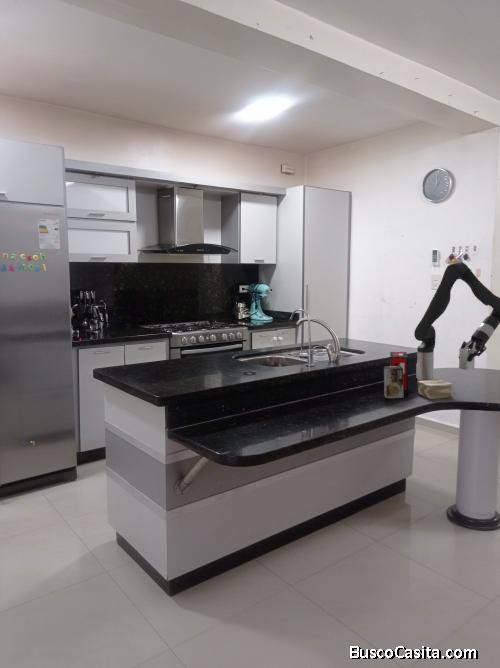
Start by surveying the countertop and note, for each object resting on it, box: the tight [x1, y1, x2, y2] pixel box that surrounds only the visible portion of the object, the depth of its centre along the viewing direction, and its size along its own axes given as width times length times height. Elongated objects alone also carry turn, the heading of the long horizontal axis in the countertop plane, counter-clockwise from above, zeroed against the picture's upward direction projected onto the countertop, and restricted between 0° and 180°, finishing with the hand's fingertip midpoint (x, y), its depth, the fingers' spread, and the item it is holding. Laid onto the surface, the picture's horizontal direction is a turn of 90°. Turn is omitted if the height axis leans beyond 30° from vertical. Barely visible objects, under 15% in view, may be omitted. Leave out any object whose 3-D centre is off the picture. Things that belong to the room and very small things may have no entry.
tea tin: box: [458, 348, 476, 371], centre depth 244 cm, size 5×5×10 cm
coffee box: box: [383, 365, 405, 399], centre depth 256 cm, size 9×6×16 cm
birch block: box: [416, 378, 453, 400], centre depth 256 cm, size 13×13×7 cm
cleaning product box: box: [389, 351, 409, 394], centre depth 270 cm, size 16×9×20 cm, turn 164°
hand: (464, 359), depth 243 cm, fingers closed on tea tin, 5 cm apart
